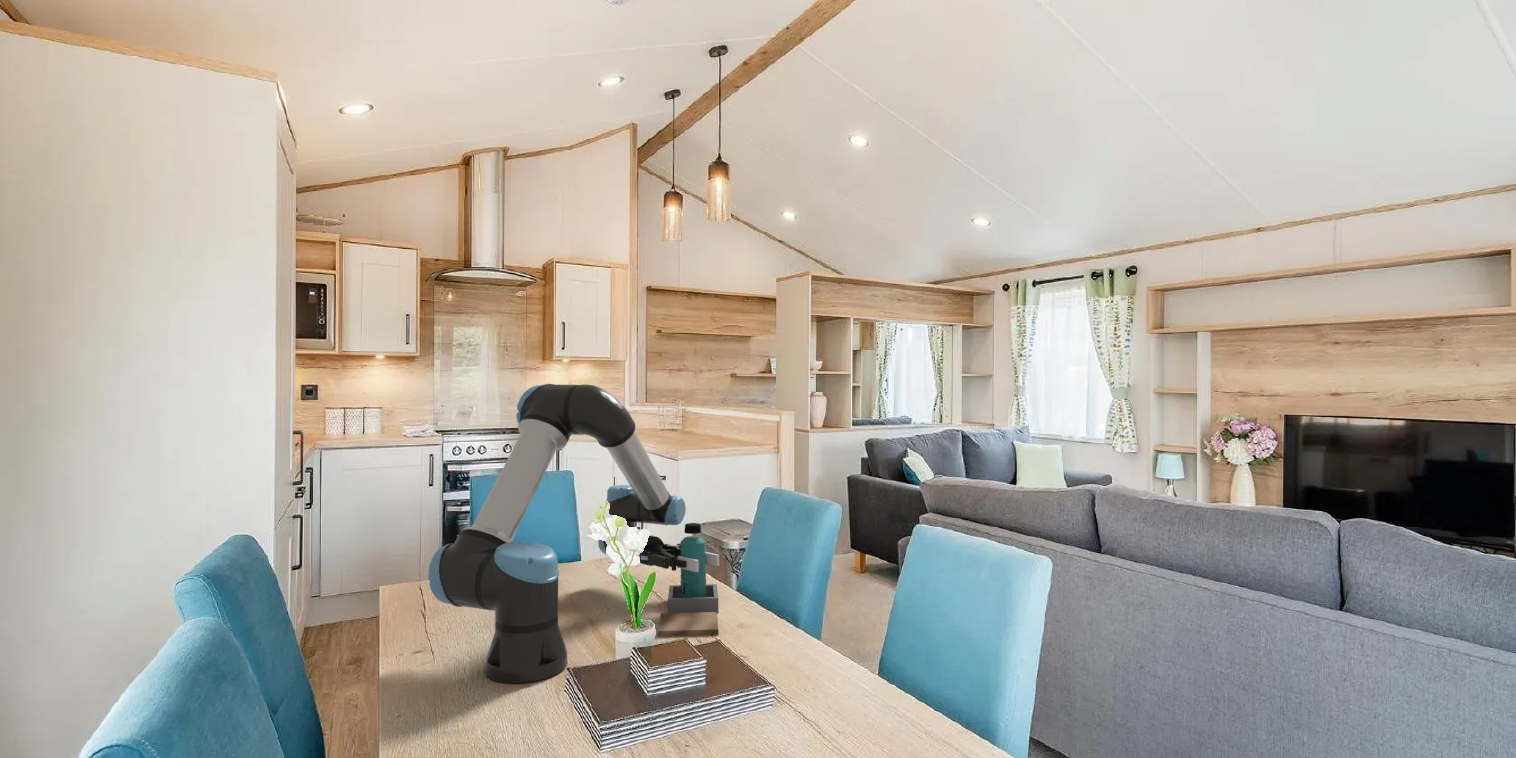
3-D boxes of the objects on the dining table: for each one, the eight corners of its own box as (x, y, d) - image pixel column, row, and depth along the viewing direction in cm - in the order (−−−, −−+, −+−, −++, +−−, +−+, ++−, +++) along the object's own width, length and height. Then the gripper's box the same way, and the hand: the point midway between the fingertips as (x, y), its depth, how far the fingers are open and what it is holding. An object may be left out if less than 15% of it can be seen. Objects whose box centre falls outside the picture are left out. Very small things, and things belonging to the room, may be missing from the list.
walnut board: (658, 636, 158) (658, 631, 158) (660, 618, 170) (660, 613, 170) (718, 634, 160) (718, 629, 160) (716, 616, 171) (716, 611, 171)
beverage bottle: (711, 603, 181) (711, 522, 181) (695, 610, 175) (695, 527, 175) (690, 599, 184) (690, 520, 185) (674, 606, 179) (674, 524, 179)
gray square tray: (667, 614, 173) (667, 599, 173) (669, 599, 185) (669, 585, 185) (718, 612, 174) (718, 598, 174) (716, 597, 186) (716, 584, 186)
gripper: (671, 556, 199) (734, 570, 184) (615, 570, 184) (678, 587, 169) (671, 529, 199) (734, 541, 184) (615, 541, 184) (678, 555, 169)
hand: (707, 563), depth 177 cm, fingers closed on beverage bottle, 6 cm apart
